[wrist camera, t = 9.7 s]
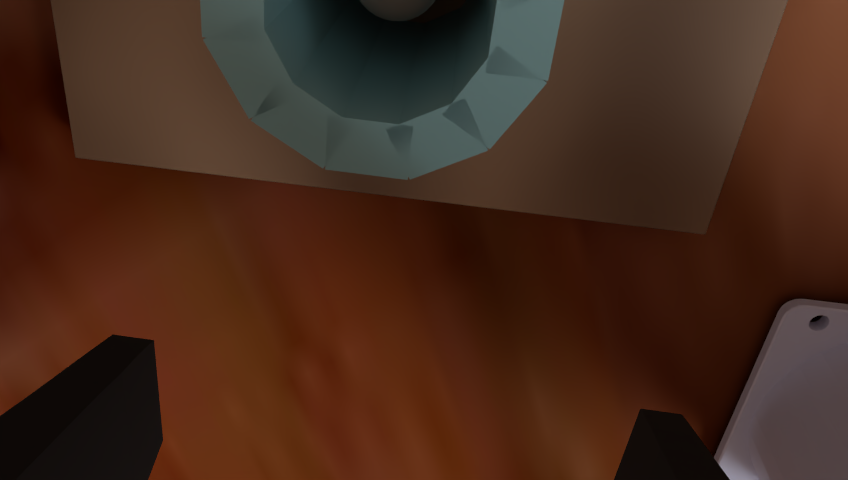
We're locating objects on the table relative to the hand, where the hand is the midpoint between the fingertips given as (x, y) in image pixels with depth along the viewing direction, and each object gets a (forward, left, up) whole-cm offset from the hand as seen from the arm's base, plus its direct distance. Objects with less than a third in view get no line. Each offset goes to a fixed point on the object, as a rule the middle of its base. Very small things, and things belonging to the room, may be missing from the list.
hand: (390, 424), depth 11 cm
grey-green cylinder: (+1, -5, -8) cm, 10 cm away
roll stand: (+1, -5, -9) cm, 11 cm away
